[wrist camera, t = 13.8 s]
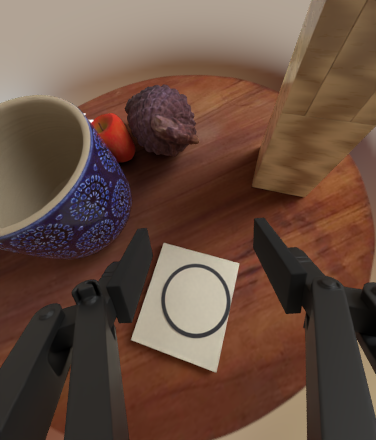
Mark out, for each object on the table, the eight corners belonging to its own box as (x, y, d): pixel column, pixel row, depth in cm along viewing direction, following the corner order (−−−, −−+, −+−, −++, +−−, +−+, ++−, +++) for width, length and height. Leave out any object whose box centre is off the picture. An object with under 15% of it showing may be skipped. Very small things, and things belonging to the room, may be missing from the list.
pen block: (309, 154, 33) (478, -76, 12) (304, 197, 31) (503, -1, 10) (260, 146, 34) (336, -71, 14) (251, 186, 32) (328, -5, 11)
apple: (115, 177, 35) (81, 146, 28) (109, 154, 38) (78, 122, 32) (146, 159, 34) (118, 123, 28) (138, 137, 37) (111, 101, 31)
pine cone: (110, 139, 38) (102, 74, 32) (155, 134, 44) (155, 78, 37) (166, 177, 28) (170, 95, 22) (214, 164, 34) (227, 95, 28)
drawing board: (238, 264, 28) (239, 263, 27) (216, 369, 24) (216, 373, 23) (165, 244, 30) (163, 242, 29) (133, 338, 26) (130, 340, 25)
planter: (99, 155, 37) (33, 72, 23) (163, 207, 32) (127, 141, 18) (25, 221, 34) (-104, 170, 20) (84, 289, 29) (-33, 286, 15)
